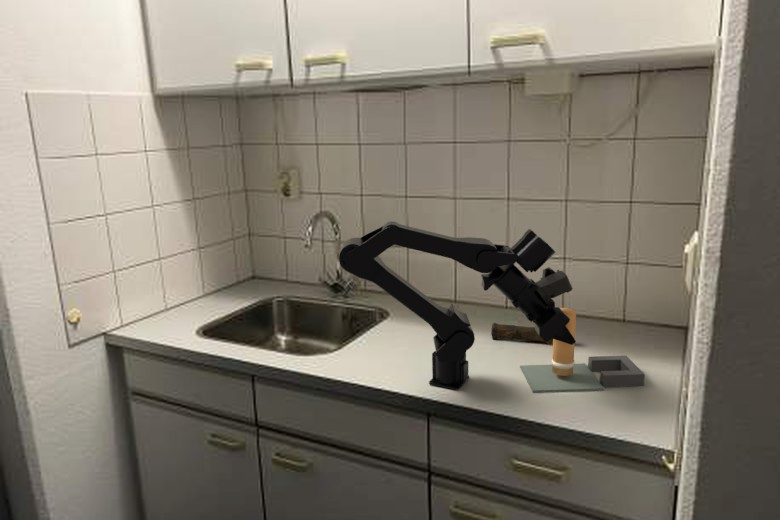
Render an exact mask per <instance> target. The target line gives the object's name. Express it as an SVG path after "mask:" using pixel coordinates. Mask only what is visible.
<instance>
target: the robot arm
mask: <svg viewBox="0 0 780 520" xmlns="http://www.w3.org/2000/svg"><path fill="white" fill-rule="evenodd" d="M393 246H399V247H402V248H407V249H411V250H415V251H420V252H422V253H426V254H431V255H436V256H440V257H443V258H448V259H451V260H453V261H455V262H457V263H459V264H461V265H463V266H464V267H466V268H469V269H471V270H473V271H476V272H478V273H481V275H480V277H481V283H480V284H481V288H482V289H483V290H484V291H488V290H490V288H491V287H492V286H494V287H495V288H496V289H497V290H498V291H499V292H500V293H501V294H502V295H504V296H505V298H507V299H508V300H509V301H510V302H511V304H512V306H514V307H515V308H516V309H518V310H519V312H521V313H522V314H523V315H524V316H525V317H526V319H527V321H530V323H532V322H533V323H534V327H535V330H536V332H537V333H538V335H539V336H540V337H541V338H542V339H543V340H544V341H545V342H547V341H549V340H550V339H555V340H559V341H562V342H565V343H568V344H571V345H573V344H574V343H575V344H576V342H577V341H576V338H575V339H574V337H573V336H572V334H571V333H570V332H569V330H568V329H567V327H566V325H567V324H568V323H569V321H570V318H569V317H568V316H567V315H566V314H565V313H564V312H563V311H562V310H561V309H560V308H561V307H560V306H559V307H557V306H556V302H555V301H554V298H557V297H559V296H561V295H563V294H566V293H569V292H571V291H572V290H573V286H572V284H571V282H570V279H569V277H568V275H567V274H566V273H565V272H564V271H563V270H560V269H557V270H556V271H555V270H554V269H552V268H551V267H549V266H548V267H546V268H543V269H542V275H541V276H542V277H540V279H539V280H538V281H536V282H535V280H533V278H529V277H528V276H527V275H526V274H524V273H523V271H521V270H520V269H519V268H518V267H517V266H516V265H515V264H516V263H517V264H518V265H519V266H520V267H521V268H522V269H523V270H524V271H525V272H526V273H528V272H530V273H533V272H534V273H536V272H537V271H538V270H539V269H541V267H542V266H544V264H546V262H548V261H549V259H551V258H552V256H554V255H555V254H556V253H557V252H556V251H555V250H554V248H552V247H551V246H550V244H549V243H547V242H546V241H545V240H544V239H543V238H541V237H539V235H537V233H535V232H534V230H532V229H531V228H529V229H528V230H527V231H525V232H524V234H523V235H522V237H520V239H518V241H516V243H514V245H513V246H509V245H504V244H497V243H493V242H492V241H490V240H489V239H487V238H484V237H483V238H481V237H471V236H470V237H469V236H468V237H454V236H449V235H445V234H440V233H437V232H432V231H428V230H425V229H420V228H417V227H413V226H409V225H405V224H400V223H398V222H396V221H390V220H389V221H388V222H386V223H384V225H382V226H380V227H378V228H376V229H373V230H371V231H369V232H368V233H365V234H364V235H363V236H361V237H351V238H349V239H346V241H345V242H343V244H342V247H341V249H340V252H339V256H338V261H339V265H340V267H341V268H342V269H343V270H344V271H345V272H347V273H349V274H351V275H353V276H355V277H357V278H359V279H361V280H364V281H367V282H370V283H373V284H375V285H376V286H377V287H378V288H380V289H381V290H383V291H384V292H386V294H388V295H390V296H391V297H392V298H394V299H395V300H397V301H398V302H399V303H400V304H402V305H403V306H404V307H406V309H408V310H409V311H411V312H412V313H413V314H415V315H416V316H418V317H419V318H420V319H422V320H423V321H424V322H425V323H427V324H428V325H430V327H431V329H432V330H433V331H434V332H435V333H436V334H435V335H434V336H433V343H434V349H435V351H433V352H432V354H431V357H432V358H431V363H432V365H431V366H432V367H431V370H432V371H431V372H432V378H431V379H430V380H429V381H428V384H429V385H430V386H431V385H432V386H436V387H440V388H441V387H442V388H446V389H449V390H459V389H460V388H462V386H464V384H465V383H466V382H467V381H468V380H469V378H470V375H469V361H468V360H467V351H468V350H470V349H471V348H472V346H473V345H474V343H475V333H474V329H473V326H472V325H471V322H470V319H469V317H468V314H467V313H465V312H462V311H460V310H459V309H458V307H456V305H454V303H451V304H450V306H449V307H448V308H447V307H445V306H441V305H439V304H438V303H436V302H435V301H434V300H433V299H431V298H430V297H429V296H428V295H426V294H424V293H423V292H422V291H420V289H418V288H417V287H415V286H414V285H413V284H411V283H410V282H409V281H407V280H406V279H405V278H403V277H402V276H400V274H398V273H397V272H395V271H394V270H393V269H391V268H390V267H389V266H387V265H386V264H385V262H384V261H383V259H382V258H381V257H380V255H381V254H382V253H384V252H385V251H387V249H388V250H389V248H391V247H393ZM545 342H544V343H545Z"/></svg>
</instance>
